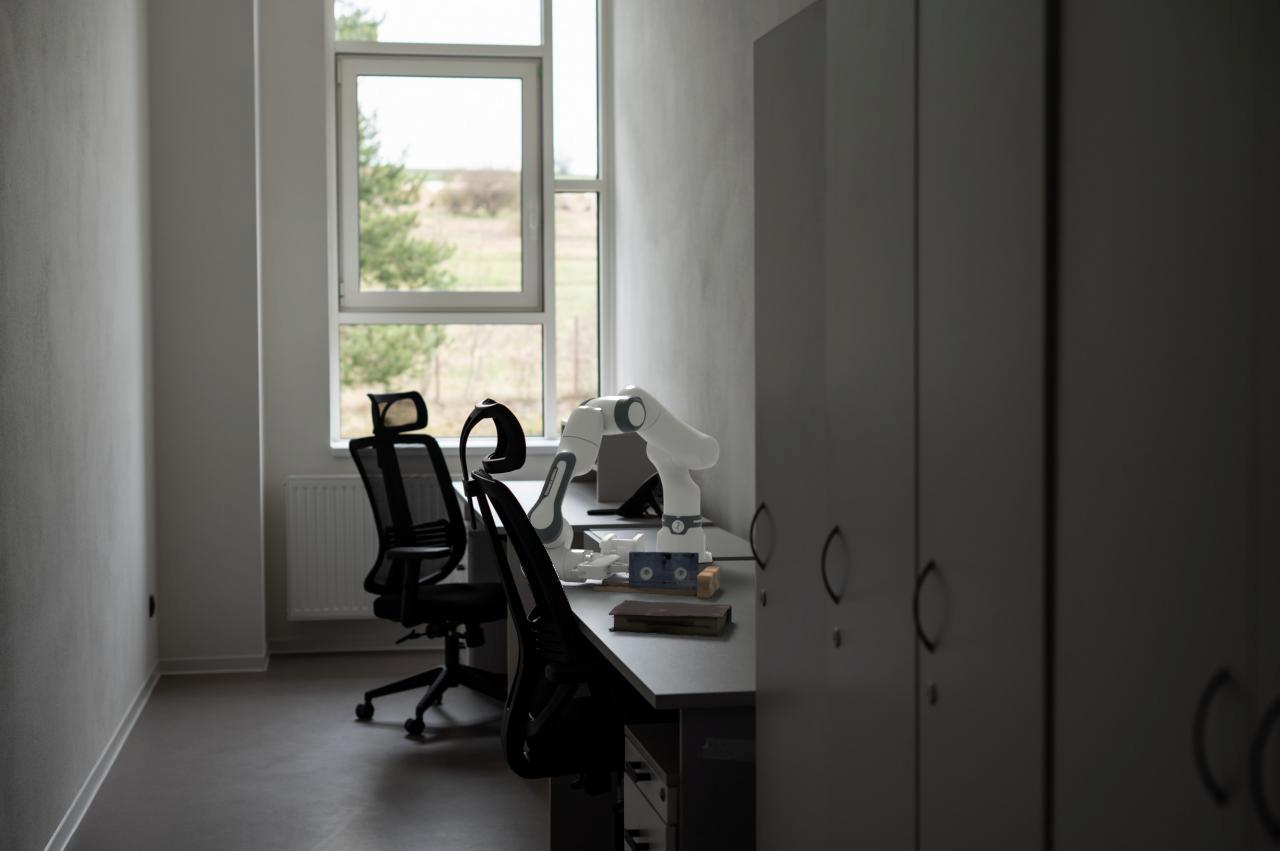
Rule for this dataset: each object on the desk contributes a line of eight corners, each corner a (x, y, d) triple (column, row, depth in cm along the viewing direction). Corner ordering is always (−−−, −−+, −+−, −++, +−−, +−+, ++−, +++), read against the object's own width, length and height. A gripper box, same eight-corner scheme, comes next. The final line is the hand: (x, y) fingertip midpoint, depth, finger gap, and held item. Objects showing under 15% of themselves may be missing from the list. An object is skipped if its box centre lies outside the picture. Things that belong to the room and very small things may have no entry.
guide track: (606, 582, 342) (606, 561, 342) (719, 587, 335) (719, 566, 335) (590, 592, 327) (590, 570, 326) (709, 598, 320) (709, 576, 319)
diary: (625, 619, 296) (625, 598, 296) (731, 624, 291) (732, 602, 291) (607, 634, 277) (607, 611, 277) (720, 640, 272) (720, 616, 272)
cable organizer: (636, 582, 343) (637, 539, 343) (598, 581, 345) (598, 538, 344) (645, 573, 358) (645, 532, 358) (608, 572, 360) (608, 531, 359)
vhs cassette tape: (698, 589, 332) (698, 552, 332) (698, 591, 329) (699, 553, 329) (628, 589, 332) (628, 551, 332) (628, 590, 329) (628, 552, 329)
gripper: (567, 559, 325) (620, 562, 322) (589, 549, 345) (638, 551, 342) (567, 584, 326) (619, 586, 322) (589, 571, 346) (638, 574, 342)
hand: (629, 568), depth 332 cm, fingers closed
